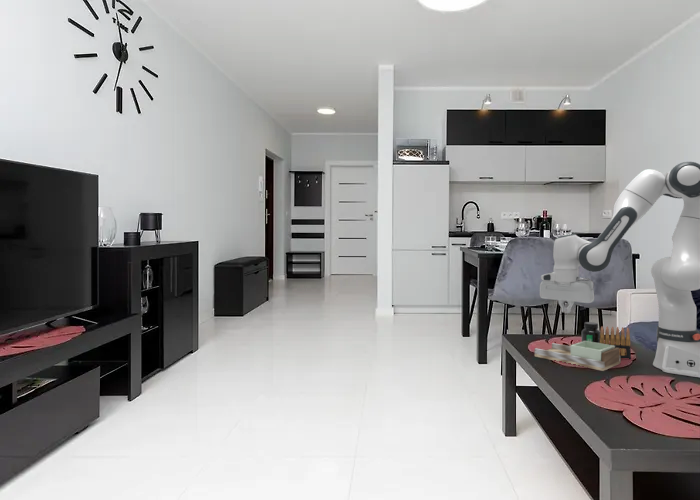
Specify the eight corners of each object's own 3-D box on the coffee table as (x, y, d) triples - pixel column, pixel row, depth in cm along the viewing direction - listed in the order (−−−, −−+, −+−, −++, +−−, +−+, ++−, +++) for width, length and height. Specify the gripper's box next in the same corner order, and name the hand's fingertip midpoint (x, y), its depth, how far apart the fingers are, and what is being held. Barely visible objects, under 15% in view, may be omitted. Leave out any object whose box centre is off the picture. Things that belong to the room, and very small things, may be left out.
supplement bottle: (591, 356, 187) (592, 325, 187) (577, 352, 194) (577, 322, 193) (604, 354, 190) (604, 323, 189) (590, 350, 196) (590, 321, 196)
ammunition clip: (630, 358, 184) (630, 326, 183) (631, 359, 182) (631, 327, 182) (598, 355, 187) (599, 325, 187) (599, 357, 186) (599, 326, 185)
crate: (614, 359, 177) (614, 345, 176) (601, 365, 170) (601, 350, 170) (584, 353, 185) (584, 340, 185) (570, 359, 178) (570, 345, 178)
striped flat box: (620, 363, 177) (620, 347, 176) (603, 370, 168) (603, 353, 168) (553, 350, 197) (553, 335, 197) (534, 356, 188) (534, 341, 188)
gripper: (597, 277, 179) (597, 314, 179) (545, 274, 195) (545, 308, 195) (589, 278, 175) (589, 316, 175) (537, 275, 191) (537, 310, 191)
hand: (566, 312), depth 185 cm, fingers closed
